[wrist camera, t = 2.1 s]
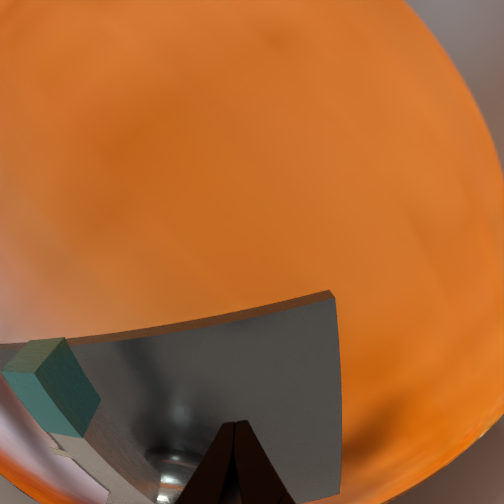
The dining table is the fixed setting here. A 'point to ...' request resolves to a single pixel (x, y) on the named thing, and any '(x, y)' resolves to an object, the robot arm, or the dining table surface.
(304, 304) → the lock base
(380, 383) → the dining table surface
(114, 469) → the teal-tipped lever
